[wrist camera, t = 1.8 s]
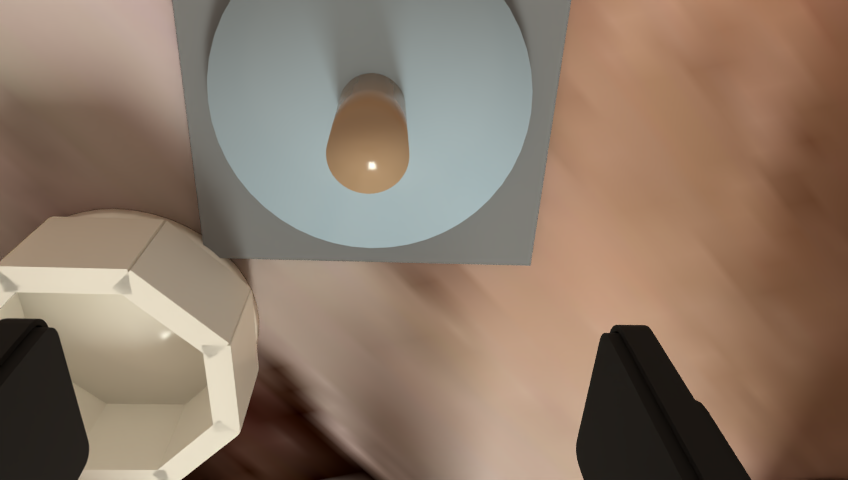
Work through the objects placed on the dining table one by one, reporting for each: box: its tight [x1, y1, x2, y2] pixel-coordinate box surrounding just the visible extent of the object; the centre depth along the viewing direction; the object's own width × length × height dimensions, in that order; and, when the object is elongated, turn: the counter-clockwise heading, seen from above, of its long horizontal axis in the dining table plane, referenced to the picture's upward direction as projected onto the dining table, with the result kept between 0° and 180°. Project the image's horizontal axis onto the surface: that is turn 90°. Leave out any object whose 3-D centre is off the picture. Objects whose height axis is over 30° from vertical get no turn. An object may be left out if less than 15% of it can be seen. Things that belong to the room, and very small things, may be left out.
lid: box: [207, 0, 533, 248], centre depth 24 cm, size 14×14×7 cm
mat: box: [172, 0, 571, 266], centre depth 27 cm, size 16×16×1 cm
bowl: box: [0, 209, 259, 480], centre depth 30 cm, size 12×12×6 cm
